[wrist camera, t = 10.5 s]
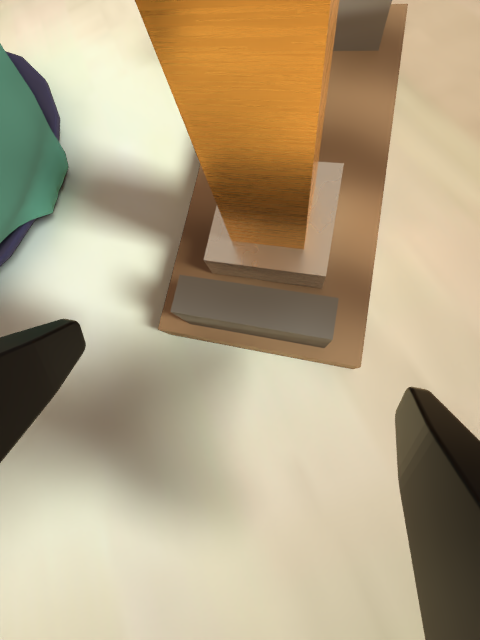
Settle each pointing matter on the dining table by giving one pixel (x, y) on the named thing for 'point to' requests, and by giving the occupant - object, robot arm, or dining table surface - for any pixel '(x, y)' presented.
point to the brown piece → (349, 228)
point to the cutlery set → (26, 150)
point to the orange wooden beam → (256, 126)
